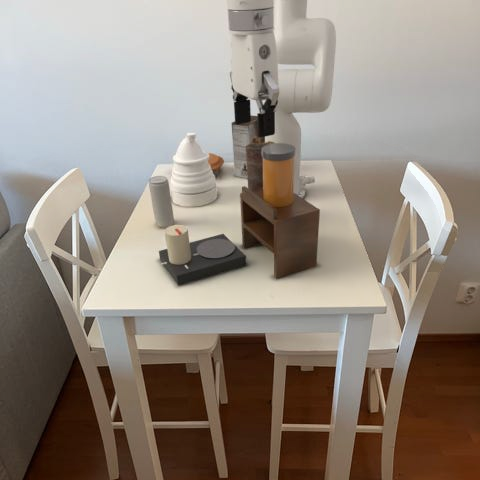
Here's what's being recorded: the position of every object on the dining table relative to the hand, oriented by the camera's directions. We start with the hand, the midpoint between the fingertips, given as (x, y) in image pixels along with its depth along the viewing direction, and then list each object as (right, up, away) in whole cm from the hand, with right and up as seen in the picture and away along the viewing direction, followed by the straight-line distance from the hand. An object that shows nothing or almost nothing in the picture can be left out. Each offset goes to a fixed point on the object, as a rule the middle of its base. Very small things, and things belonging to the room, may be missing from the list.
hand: (254, 129), depth 88 cm
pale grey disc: (-8, -20, +17) cm, 27 cm away
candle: (+3, -12, +31) cm, 33 cm away
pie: (-15, +10, +61) cm, 63 cm away
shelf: (+6, -21, +18) cm, 28 cm away
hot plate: (-11, -23, +17) cm, 31 cm away
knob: (-16, -23, +14) cm, 31 cm away
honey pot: (-16, -1, +46) cm, 49 cm away
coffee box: (+1, +10, +59) cm, 60 cm away
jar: (+5, -11, +10) cm, 16 cm away
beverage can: (-22, -11, +33) cm, 41 cm away
